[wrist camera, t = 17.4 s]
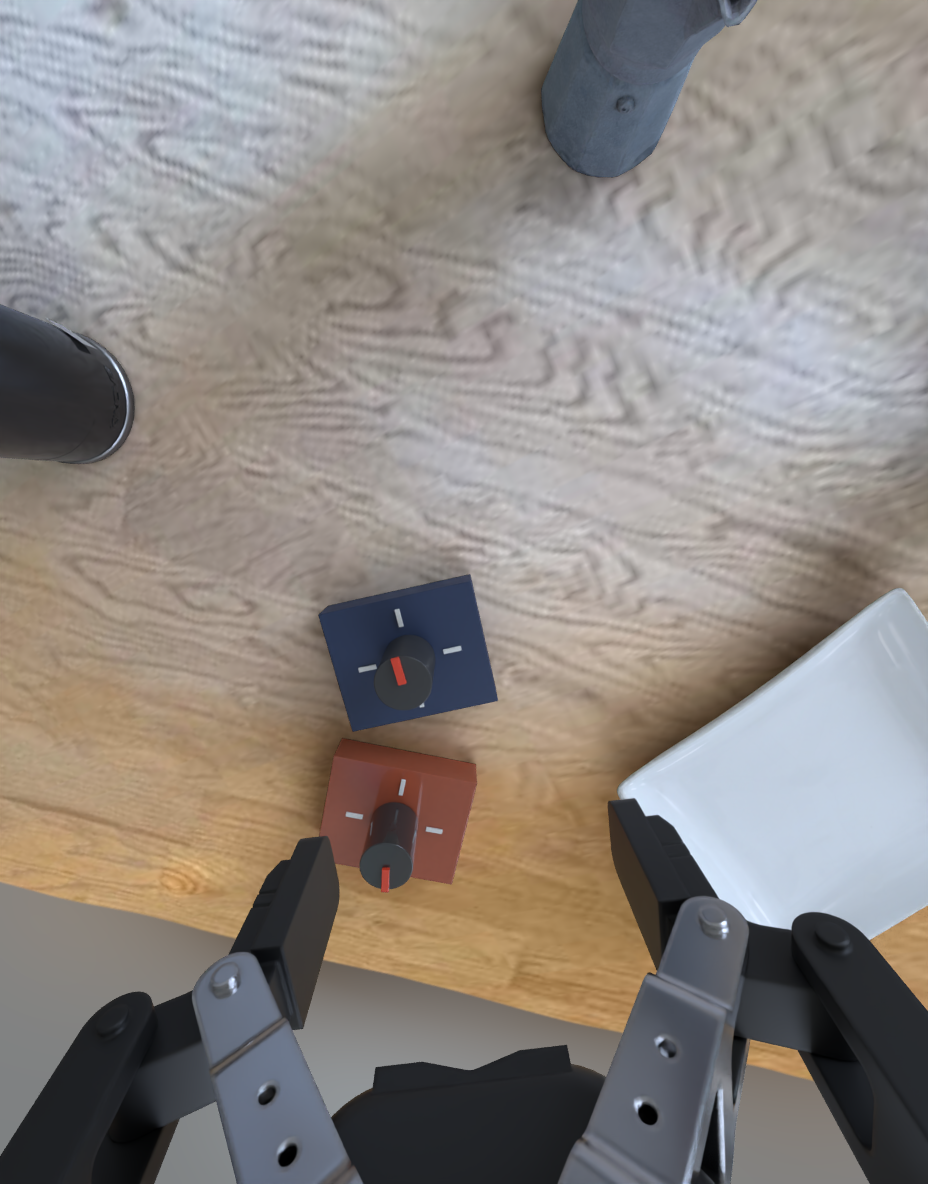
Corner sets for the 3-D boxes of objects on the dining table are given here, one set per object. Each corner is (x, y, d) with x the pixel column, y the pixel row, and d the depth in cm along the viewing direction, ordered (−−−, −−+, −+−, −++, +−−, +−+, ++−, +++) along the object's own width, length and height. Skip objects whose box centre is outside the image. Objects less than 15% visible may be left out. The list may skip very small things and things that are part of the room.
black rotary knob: (441, 676, 40) (438, 704, 35) (392, 688, 40) (382, 718, 35) (427, 628, 39) (422, 650, 34) (377, 641, 39) (365, 665, 34)
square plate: (599, 767, 45) (612, 794, 41) (867, 573, 42) (908, 582, 38) (763, 959, 49) (789, 999, 46) (1017, 798, 46) (1067, 827, 42)
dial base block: (323, 836, 46) (313, 861, 43) (341, 737, 44) (333, 756, 41) (452, 859, 47) (451, 886, 44) (476, 763, 45) (477, 784, 42)
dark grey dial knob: (371, 800, 42) (358, 844, 37) (419, 802, 42) (413, 847, 37) (370, 842, 43) (357, 891, 38) (417, 844, 43) (411, 894, 38)
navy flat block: (359, 715, 44) (351, 733, 41) (327, 605, 42) (317, 615, 39) (495, 686, 43) (498, 701, 40) (470, 573, 41) (471, 581, 38)
